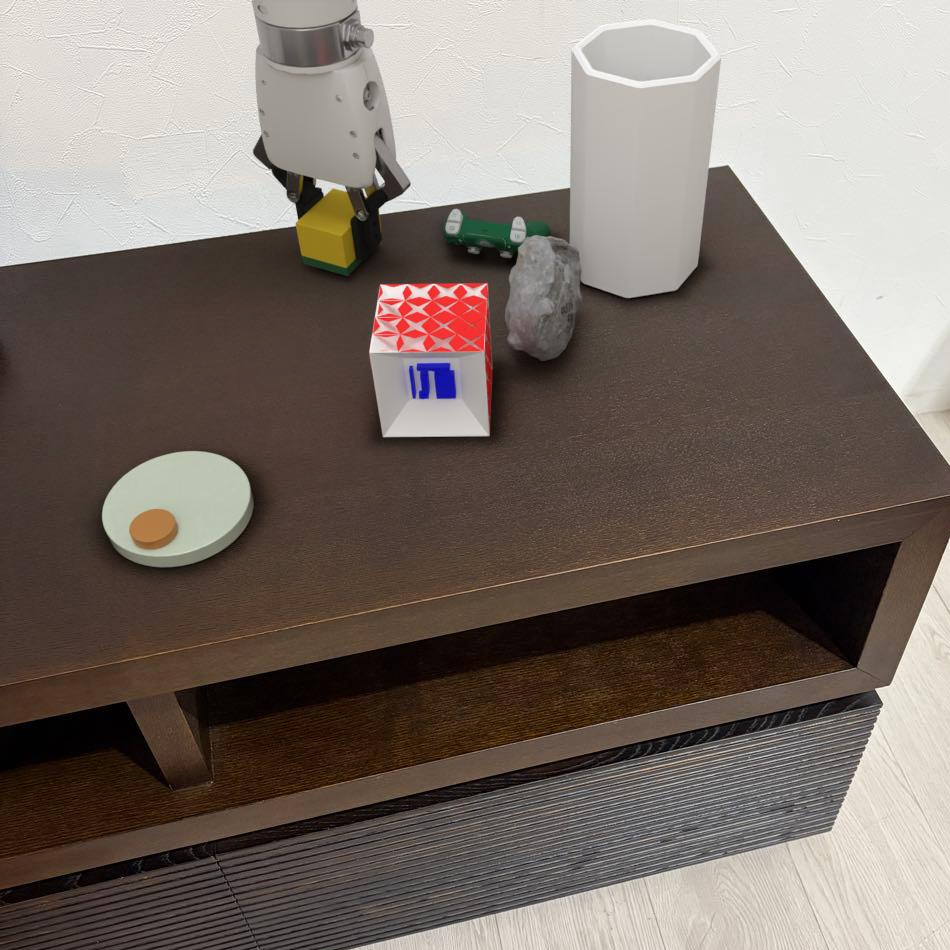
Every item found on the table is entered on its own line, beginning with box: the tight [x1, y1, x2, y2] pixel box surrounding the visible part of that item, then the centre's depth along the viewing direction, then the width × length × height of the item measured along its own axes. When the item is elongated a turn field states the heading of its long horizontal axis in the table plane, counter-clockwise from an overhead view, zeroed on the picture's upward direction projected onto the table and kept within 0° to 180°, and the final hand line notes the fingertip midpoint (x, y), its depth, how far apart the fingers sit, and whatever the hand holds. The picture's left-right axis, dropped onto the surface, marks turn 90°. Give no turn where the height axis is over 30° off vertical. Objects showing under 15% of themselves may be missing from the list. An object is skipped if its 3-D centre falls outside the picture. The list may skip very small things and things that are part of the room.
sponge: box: [295, 188, 383, 277], centre depth 94 cm, size 6×4×4 cm
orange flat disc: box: [129, 509, 178, 549], centre depth 73 cm, size 3×3×1 cm
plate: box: [101, 450, 255, 568], centre depth 76 cm, size 10×10×1 cm
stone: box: [504, 235, 583, 362], centre depth 84 cm, size 9×7×10 cm
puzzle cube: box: [368, 282, 494, 438], centre depth 81 cm, size 8×8×8 cm
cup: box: [569, 18, 722, 299], centre depth 89 cm, size 11×11×18 cm
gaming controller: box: [442, 208, 552, 259], centre depth 96 cm, size 9×4×6 cm
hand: (341, 243), depth 95 cm, fingers closed on sponge, 4 cm apart
